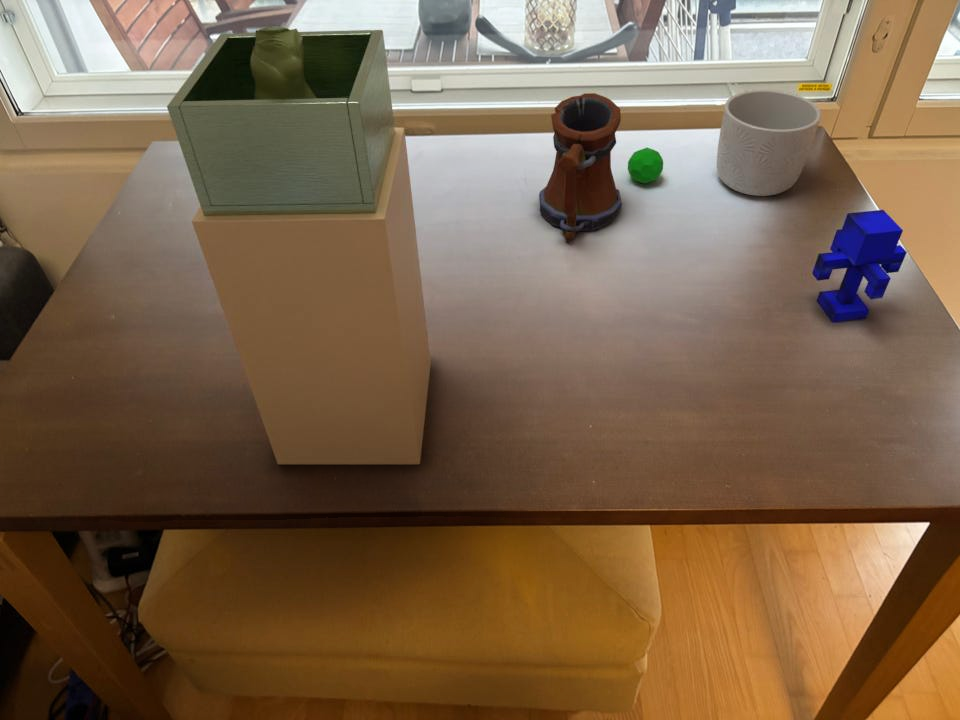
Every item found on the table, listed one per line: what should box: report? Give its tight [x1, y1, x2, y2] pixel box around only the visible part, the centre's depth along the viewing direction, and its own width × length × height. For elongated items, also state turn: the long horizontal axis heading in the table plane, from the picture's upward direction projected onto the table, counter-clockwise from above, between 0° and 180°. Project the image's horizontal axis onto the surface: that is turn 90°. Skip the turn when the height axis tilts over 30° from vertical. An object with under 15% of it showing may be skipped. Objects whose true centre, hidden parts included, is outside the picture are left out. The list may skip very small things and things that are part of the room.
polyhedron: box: [627, 147, 664, 184], centre depth 107 cm, size 5×5×5 cm
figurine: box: [811, 209, 908, 323], centre depth 83 cm, size 8×8×12 cm
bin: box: [166, 29, 431, 465], centre depth 65 cm, size 14×14×36 cm
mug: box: [538, 92, 623, 242], centre depth 96 cm, size 18×12×15 cm, turn 164°
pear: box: [250, 24, 317, 100], centre depth 54 cm, size 6×5×10 cm
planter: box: [716, 89, 822, 197], centre depth 104 cm, size 12×12×11 cm
